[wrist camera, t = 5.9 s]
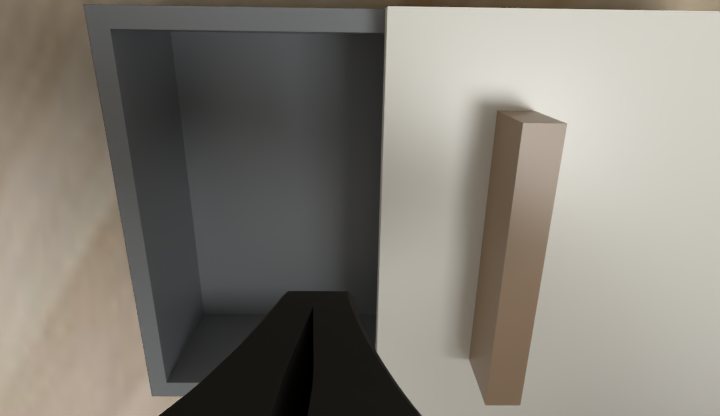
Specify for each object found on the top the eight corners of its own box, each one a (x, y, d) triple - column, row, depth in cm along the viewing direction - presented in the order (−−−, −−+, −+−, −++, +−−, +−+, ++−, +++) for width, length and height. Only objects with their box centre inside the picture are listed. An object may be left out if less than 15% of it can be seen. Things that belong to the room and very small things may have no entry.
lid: (834, 15, 12) (965, 8, 10) (704, 403, 17) (769, 470, 14) (385, 8, 12) (394, -1, 9) (373, 402, 17) (377, 471, 14)
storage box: (483, 19, 17) (532, 11, 12) (454, 319, 22) (482, 396, 17) (158, 14, 17) (83, 4, 12) (196, 318, 21) (152, 396, 17)
